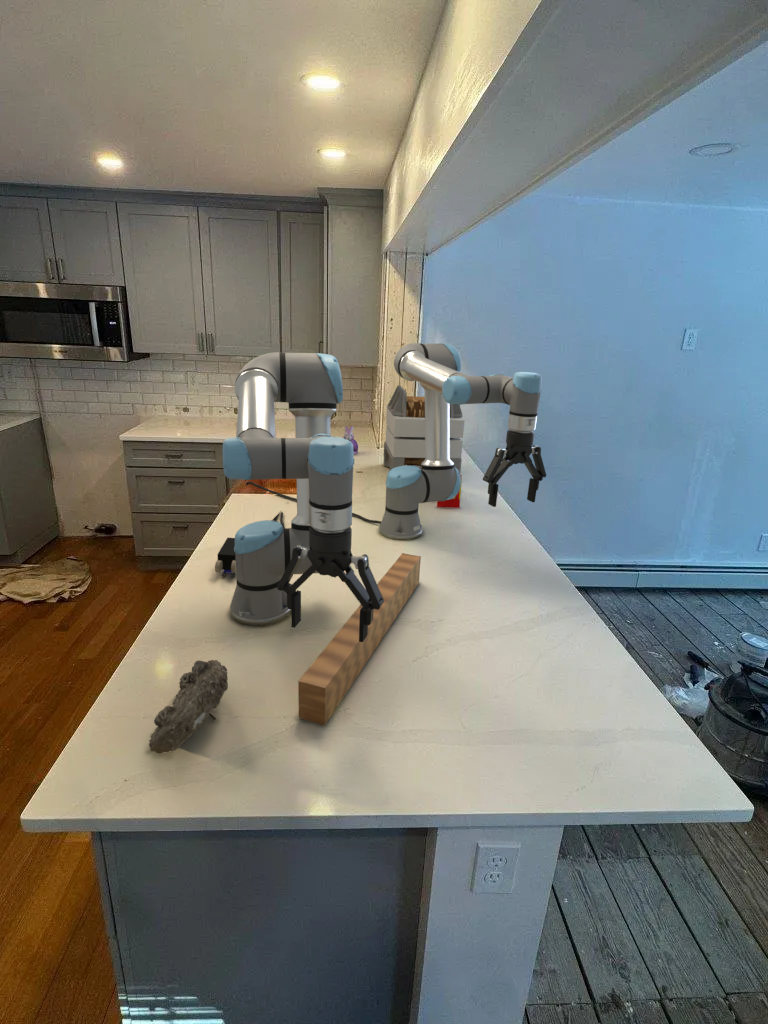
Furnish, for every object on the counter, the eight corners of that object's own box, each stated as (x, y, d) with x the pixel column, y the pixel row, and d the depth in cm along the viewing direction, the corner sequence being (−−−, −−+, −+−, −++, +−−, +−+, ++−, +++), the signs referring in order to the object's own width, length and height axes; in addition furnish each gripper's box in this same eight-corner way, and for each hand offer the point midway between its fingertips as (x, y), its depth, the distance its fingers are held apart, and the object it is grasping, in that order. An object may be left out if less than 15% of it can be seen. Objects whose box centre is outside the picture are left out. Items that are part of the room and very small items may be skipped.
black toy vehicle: (238, 584, 162) (249, 557, 175) (236, 562, 158) (247, 536, 172) (215, 584, 161) (227, 556, 175) (212, 561, 158) (225, 535, 171)
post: (400, 579, 166) (402, 552, 164) (418, 582, 165) (420, 556, 162) (298, 717, 109) (298, 680, 106) (324, 725, 107) (325, 688, 104)
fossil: (177, 661, 117) (228, 629, 112) (210, 691, 120) (261, 661, 115) (124, 747, 97) (183, 713, 92) (164, 781, 100) (223, 749, 95)
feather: (288, 505, 226) (290, 501, 226) (271, 529, 199) (273, 524, 199) (284, 503, 226) (287, 499, 225) (266, 526, 199) (269, 522, 199)
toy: (454, 466, 253) (465, 475, 223) (452, 495, 255) (463, 509, 226) (427, 465, 252) (435, 474, 223) (425, 494, 255) (433, 508, 226)
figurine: (346, 456, 299) (346, 428, 294) (338, 451, 308) (338, 424, 302) (362, 454, 303) (363, 427, 298) (354, 450, 312) (354, 423, 307)
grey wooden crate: (382, 463, 289) (386, 382, 275) (445, 464, 293) (451, 384, 279) (390, 482, 257) (394, 392, 243) (460, 483, 261) (468, 394, 247)
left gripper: (256, 523, 100) (260, 627, 107) (392, 545, 93) (386, 655, 100) (276, 509, 106) (278, 609, 114) (404, 529, 100) (398, 633, 107)
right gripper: (491, 435, 148) (482, 511, 155) (565, 431, 158) (554, 503, 165) (475, 429, 154) (467, 503, 161) (548, 425, 164) (538, 495, 171)
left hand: (329, 631), depth 107 cm, fingers open, 13 cm apart
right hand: (511, 503), depth 163 cm, fingers open, 13 cm apart
